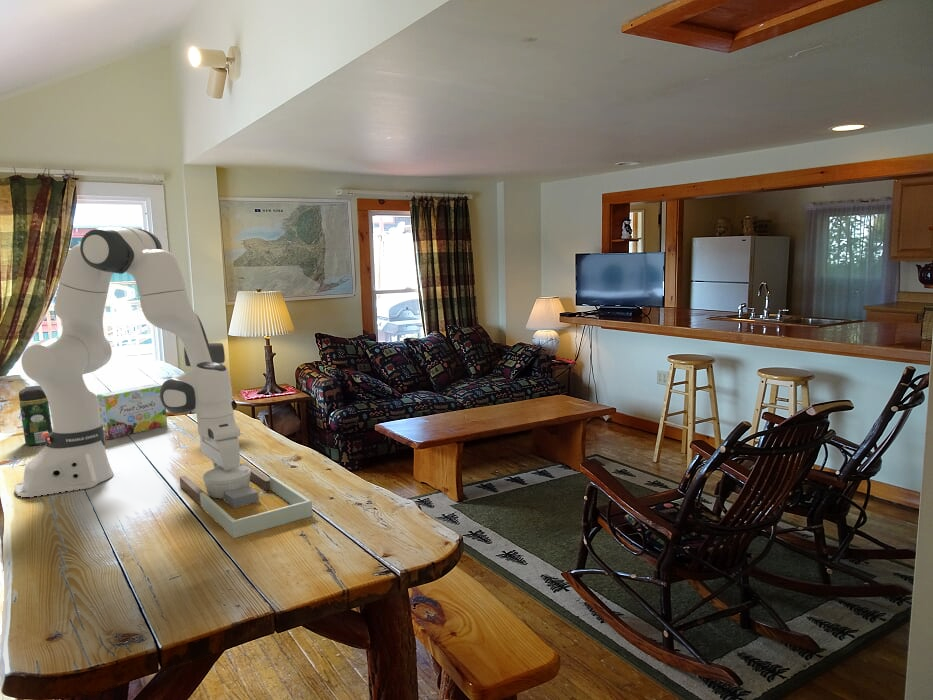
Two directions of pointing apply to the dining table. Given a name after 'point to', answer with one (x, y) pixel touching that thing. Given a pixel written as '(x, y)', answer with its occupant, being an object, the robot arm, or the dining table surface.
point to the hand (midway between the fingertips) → (221, 477)
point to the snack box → (131, 410)
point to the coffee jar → (34, 414)
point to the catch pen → (265, 520)
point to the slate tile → (241, 496)
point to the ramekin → (226, 480)
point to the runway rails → (196, 491)
